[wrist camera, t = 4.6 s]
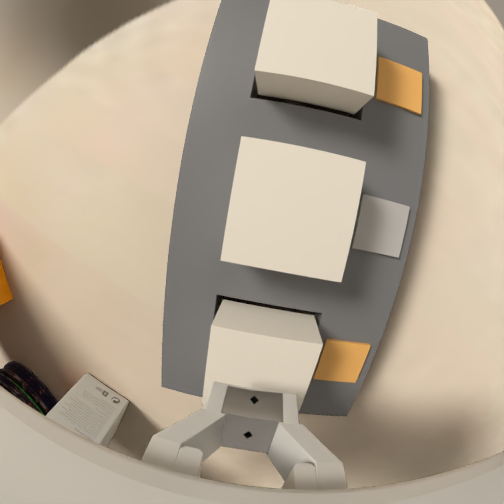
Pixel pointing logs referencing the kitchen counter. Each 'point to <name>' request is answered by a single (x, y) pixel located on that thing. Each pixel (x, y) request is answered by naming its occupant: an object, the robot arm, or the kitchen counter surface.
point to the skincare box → (90, 410)
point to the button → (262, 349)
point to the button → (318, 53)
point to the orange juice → (4, 287)
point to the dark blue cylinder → (27, 387)
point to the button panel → (315, 137)
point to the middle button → (292, 209)
